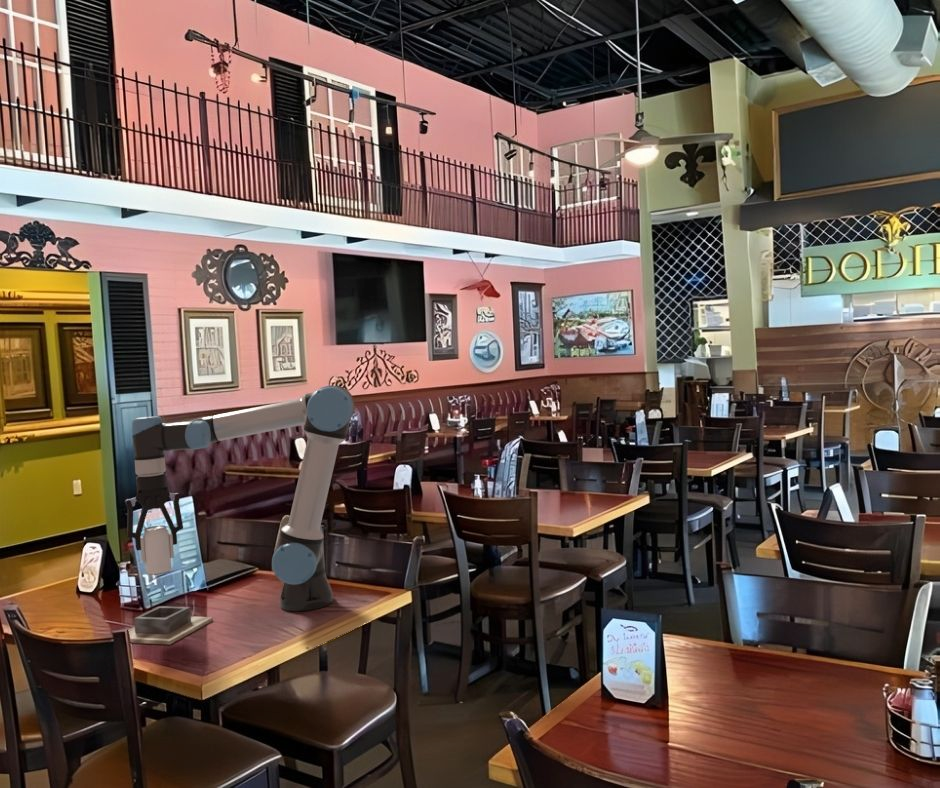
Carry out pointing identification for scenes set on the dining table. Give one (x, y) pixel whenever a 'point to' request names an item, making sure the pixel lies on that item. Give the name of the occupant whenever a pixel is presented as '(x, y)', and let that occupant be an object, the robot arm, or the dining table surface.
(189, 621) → the socket
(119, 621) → the dining table surface
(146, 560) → the can
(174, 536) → the robot arm
